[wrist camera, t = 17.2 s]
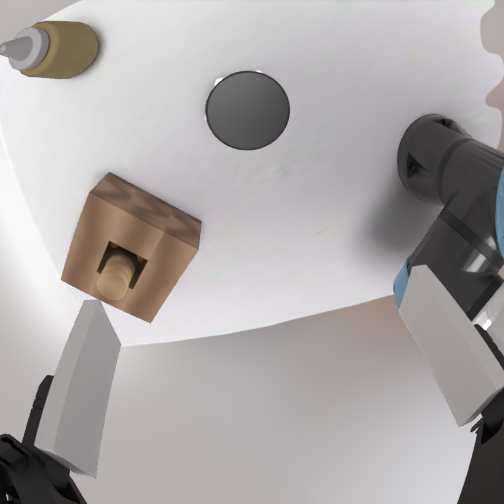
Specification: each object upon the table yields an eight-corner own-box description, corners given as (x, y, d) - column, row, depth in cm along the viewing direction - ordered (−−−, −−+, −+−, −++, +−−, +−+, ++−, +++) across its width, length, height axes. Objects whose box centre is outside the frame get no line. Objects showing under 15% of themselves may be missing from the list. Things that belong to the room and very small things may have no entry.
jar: (194, 99, 36) (184, 108, 26) (240, 59, 33) (248, 51, 23) (240, 144, 40) (248, 170, 30) (285, 106, 37) (309, 118, 27)
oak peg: (149, 236, 45) (131, 283, 35) (139, 256, 47) (121, 305, 36) (125, 224, 43) (100, 268, 33) (116, 245, 45) (92, 292, 35)
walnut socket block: (201, 221, 46) (198, 249, 39) (157, 291, 52) (150, 323, 45) (109, 172, 40) (89, 192, 33) (78, 251, 46) (60, 279, 39)
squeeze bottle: (50, 74, 30) (-32, 87, 15) (67, 22, 26) (-10, 9, 11) (95, 82, 32) (21, 95, 17) (114, 29, 28) (48, 7, 13)
